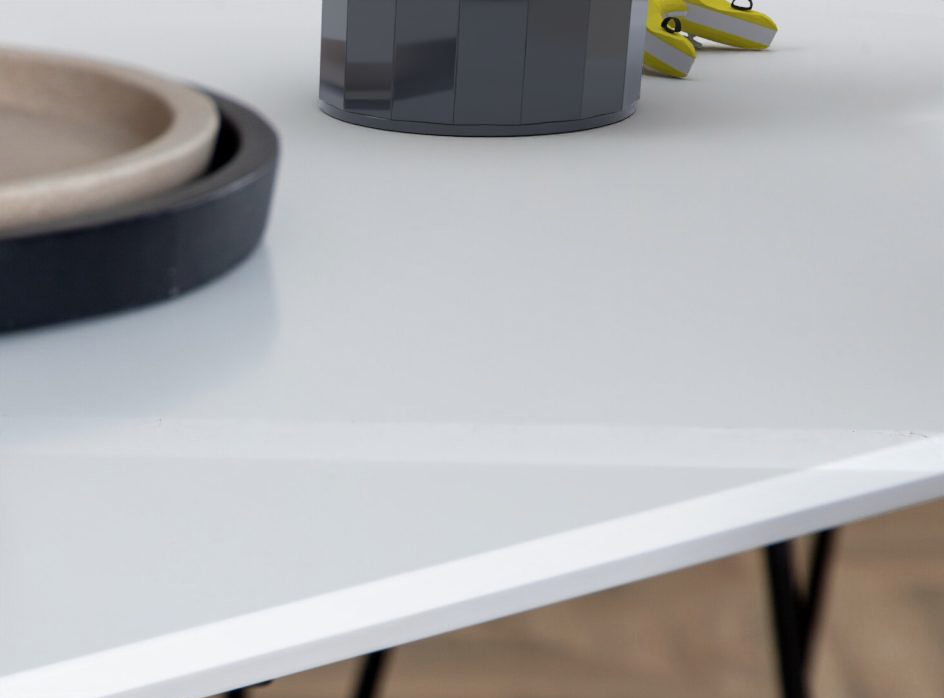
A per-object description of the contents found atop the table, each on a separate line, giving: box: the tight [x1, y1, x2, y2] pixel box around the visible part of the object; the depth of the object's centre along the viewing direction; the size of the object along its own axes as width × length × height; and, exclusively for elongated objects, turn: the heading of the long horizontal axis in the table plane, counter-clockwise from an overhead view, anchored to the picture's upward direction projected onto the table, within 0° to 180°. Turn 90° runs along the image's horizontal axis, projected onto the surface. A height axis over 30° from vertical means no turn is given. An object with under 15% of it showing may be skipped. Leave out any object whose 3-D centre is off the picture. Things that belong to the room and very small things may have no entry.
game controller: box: [643, 0, 778, 78], centre depth 116 cm, size 10×6×4 cm, turn 139°
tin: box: [318, 0, 649, 137], centre depth 105 cm, size 15×15×8 cm
